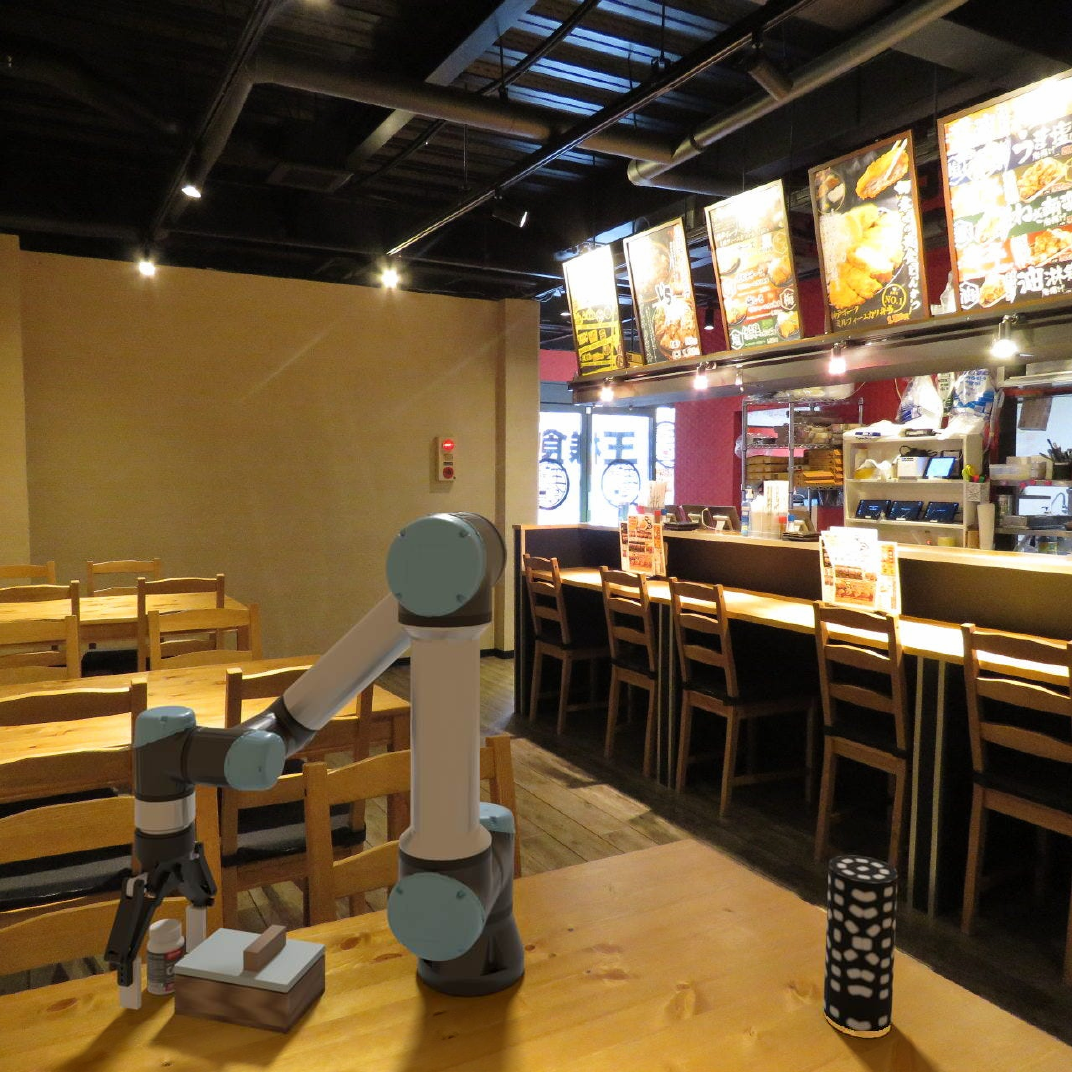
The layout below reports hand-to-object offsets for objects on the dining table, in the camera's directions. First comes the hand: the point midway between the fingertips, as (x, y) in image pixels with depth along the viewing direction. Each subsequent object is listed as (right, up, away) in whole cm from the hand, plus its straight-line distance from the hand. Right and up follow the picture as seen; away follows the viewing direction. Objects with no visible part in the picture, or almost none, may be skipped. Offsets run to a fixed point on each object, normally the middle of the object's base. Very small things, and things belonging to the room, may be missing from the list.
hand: (164, 978), depth 120 cm
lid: (+13, +4, -4) cm, 14 cm away
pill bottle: (0, -1, 0) cm, 1 cm away
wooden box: (+13, -1, -3) cm, 13 cm away
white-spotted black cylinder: (+92, -3, -5) cm, 92 cm away
